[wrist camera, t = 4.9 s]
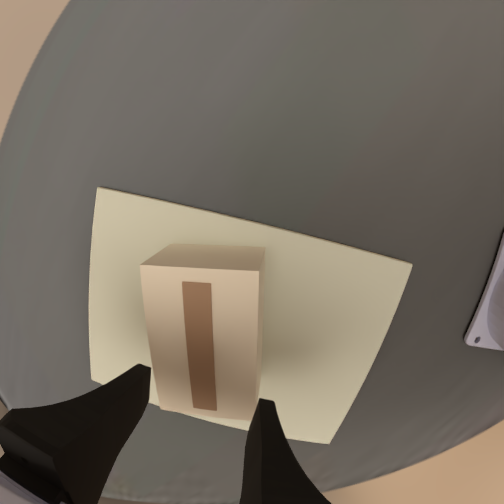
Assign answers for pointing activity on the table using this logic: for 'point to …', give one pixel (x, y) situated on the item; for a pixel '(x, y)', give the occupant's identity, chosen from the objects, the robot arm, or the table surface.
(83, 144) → the table surface
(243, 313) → the card deck box
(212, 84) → the table surface
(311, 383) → the mat
